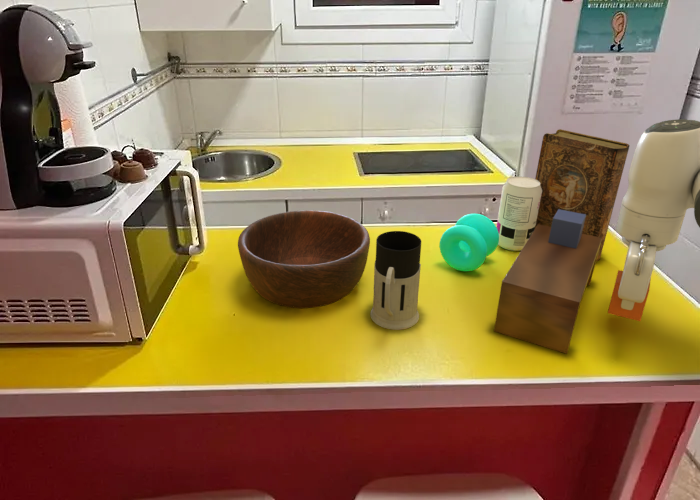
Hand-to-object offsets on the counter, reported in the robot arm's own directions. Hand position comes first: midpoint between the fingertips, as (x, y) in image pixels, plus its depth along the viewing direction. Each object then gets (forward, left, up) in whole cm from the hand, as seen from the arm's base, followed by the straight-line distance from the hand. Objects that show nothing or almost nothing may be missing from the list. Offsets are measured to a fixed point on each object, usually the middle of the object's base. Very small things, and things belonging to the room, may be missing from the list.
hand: (628, 298), depth 88 cm
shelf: (+13, 0, -6) cm, 14 cm away
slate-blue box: (+13, -8, +4) cm, 16 cm away
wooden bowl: (+56, +16, -6) cm, 58 cm away
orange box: (0, 0, -2) cm, 2 cm away
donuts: (+31, -8, -6) cm, 32 cm away
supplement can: (+25, -22, -6) cm, 34 cm away
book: (+14, -26, -6) cm, 31 cm away
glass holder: (+35, +20, -6) cm, 40 cm away
